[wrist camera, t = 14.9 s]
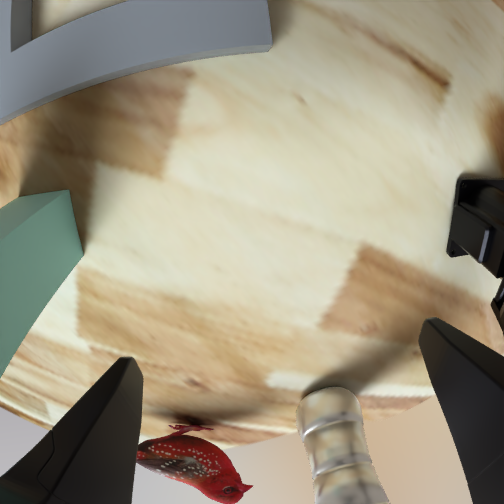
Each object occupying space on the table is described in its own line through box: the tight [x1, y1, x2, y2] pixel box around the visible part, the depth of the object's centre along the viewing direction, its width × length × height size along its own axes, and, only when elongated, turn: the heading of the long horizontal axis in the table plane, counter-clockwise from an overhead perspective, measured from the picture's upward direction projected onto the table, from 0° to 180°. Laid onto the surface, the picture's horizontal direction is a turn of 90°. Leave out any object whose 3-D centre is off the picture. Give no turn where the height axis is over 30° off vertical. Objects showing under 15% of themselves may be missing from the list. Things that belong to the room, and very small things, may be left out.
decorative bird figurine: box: [136, 425, 253, 504], centre depth 26 cm, size 3×18×10 cm, turn 87°
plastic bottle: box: [296, 387, 390, 504], centre depth 20 cm, size 6×7×20 cm
